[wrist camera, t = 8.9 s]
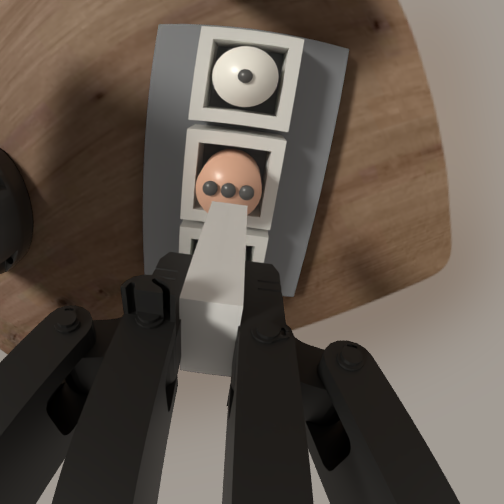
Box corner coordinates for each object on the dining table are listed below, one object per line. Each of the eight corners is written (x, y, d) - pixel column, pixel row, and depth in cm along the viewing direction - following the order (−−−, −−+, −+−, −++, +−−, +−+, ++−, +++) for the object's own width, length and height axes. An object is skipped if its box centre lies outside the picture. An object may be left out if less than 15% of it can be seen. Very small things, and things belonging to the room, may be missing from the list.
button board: (149, 269, 29) (135, 298, 25) (164, 28, 18) (146, 15, 14) (291, 287, 30) (297, 318, 26) (343, 51, 19) (362, 43, 15)
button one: (213, 102, 20) (207, 103, 17) (221, 49, 18) (216, 42, 15) (269, 109, 20) (273, 111, 17) (278, 57, 18) (283, 51, 15)
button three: (200, 200, 22) (192, 217, 19) (205, 145, 20) (198, 154, 17) (255, 207, 22) (256, 225, 19) (264, 152, 20) (266, 163, 17)
